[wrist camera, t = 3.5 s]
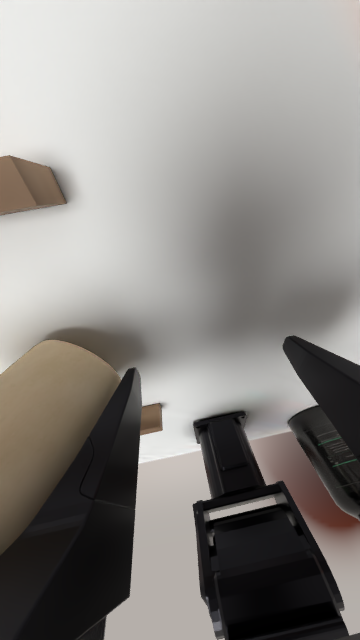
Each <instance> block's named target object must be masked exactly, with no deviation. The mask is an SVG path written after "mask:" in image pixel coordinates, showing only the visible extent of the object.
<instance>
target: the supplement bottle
mask: <svg viewBox="0 0 360 640" xmlns="http://www.w3.org/2000/svg"><path fill="white" fill-rule="evenodd" d="M289 427H290V429H291V431H292V432H293V434H294V435H295V437H296V439H297V441H298V442H299V444H300V445H301V447H302V449H303V451H304V452H305V454H306V456H307V457H308V459H309V460H310V462H311V464H312V466H313V467H314V469H315V470H316V472H317V474H318V475H319V477H320V479H321V480H322V482H323V484H324V485H325V487H326V489H327V490H328V492H329V494H330V495H331V497H332V498H333V500H334V502H335V503H336V504H337V505H338V506H339V508H341V509H342V510H343V511H344V512H346V513H348V514H349V515H351V516H354V517H356V518H358V519H359V520H360V464H359V462H358V461H357V459H356V457H355V456H354V455H353V453H352V452H351V450H350V449H349V448H348V446H347V445H346V443H345V442H344V440H343V439H342V438H341V436H340V435H339V433H338V432H337V430H336V429H335V428H334V426H333V425H332V423H331V422H330V420H329V419H328V418H327V416H326V415H325V413H324V412H323V410H322V409H321V408H320V406H316V407H312V408H309V409H307V410H304V411H302V412H300V413H298V414H297V415H295V416H294V417H292V418H291V419H290V421H289Z"/></svg>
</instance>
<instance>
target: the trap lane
mask: <svg viewBox="0 0 360 640" xmlns="http://www.w3.org/2000/svg"><path fill="white" fill-rule="evenodd" d="M61 204H67V203H66V201H65V199H64V197H63V195H62V192H61V190H60V188H59V186H58V184H57V182H56V179H55V177H54V175H53V173H52V171H51V169H50V167H47V166H43V165H40V164H37V163H33V162H30V161H27V160H23V159H20V158H16V157H13V156H10V155H9V156H3V157H0V215H5V214H10V213H16V212H22V211H27V210H33V209H39V208H44V207H50V206H55V205H61ZM162 430H163V429H162V410H161V406H160V404H154V405H150V406H145V407H142V412H141V427H140V435H144V434H149V433H153V432H158V431H162Z"/></svg>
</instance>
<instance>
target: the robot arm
mask: <svg viewBox="0 0 360 640" xmlns="http://www.w3.org/2000/svg"><path fill="white" fill-rule="evenodd" d="M283 350H284V352H285V354H286V356H287V357H288V359H289V361H290V363H291V365H292V366H293V368H294V370H295V371H296V373H297V375H298V376H299V378H300V379H301V380H302V382H303V383H304V385H305V386H306V388H307V389H308V390H309V392H310V393H311V395H312V396H313V398H314V399H315V400H316V402H317V403H318V405H319V406H320V408H321V409H322V410H323V412H324V413H325V415H326V416H327V418H328V419H329V420H330V422H331V423H332V425H333V426H334V428H335V429H336V430H337V432H338V433H339V435H340V436H341V438H342V439H343V440H344V442H345V443H346V445H347V446H348V448H349V449H350V450H351V452H352V453H353V455H354V456H355V457H356V459H357V461H358V462H359V464H360V365H357V364H355V363H353V362H351V361H349V360H347V359H345V358H342V357H340V356H338V355H336V354H334V353H332V352H329V351H327V350H325V349H323V348H321V347H319V346H316V345H314V344H312V343H310V342H308V341H306V340H303V339H301V338H299V337H297V336H294V335H293V336H288V337H286V339H285V341H284V344H283ZM141 412H142V398H141V378H140V375H139V373H138V371H137V369H136V368H135V367H134V368H129V369H128V370H127V372H126V373H125V375H124V377H123V378H122V380H121V382H120V383H119V385H118V387H117V389H116V390H115V392H114V394H113V395H112V397H111V399H110V400H109V402H108V404H107V405H106V407H105V409H104V411H103V412H102V414H101V416H100V417H99V419H98V421H97V422H96V424H95V426H94V428H93V429H92V431H91V433H90V434H89V436H88V438H87V439H86V441H85V443H84V444H83V446H82V448H81V449H80V451H79V452H78V454H77V456H76V457H75V459H74V460H73V462H72V463H71V465H70V466H69V468H68V469H67V471H66V472H65V474H64V475H63V477H62V478H61V480H60V481H59V483H58V484H57V486H56V487H55V488H54V490H53V491H52V493H51V494H50V496H49V497H48V499H47V500H46V502H45V503H44V504H43V506H42V507H41V509H40V510H39V512H38V513H37V514H36V516H35V517H34V519H33V520H32V521H31V523H30V524H29V525H28V526H27V528H26V529H25V530H24V531H23V532H22V533H21V535H20V536H19V537H18V538H17V539H16V540H15V541H14V542H13V543H12V544H11V545H10V546H9V547H8V548H7V549H6V550H5V551H4V552H3V553H2V554H1V555H0V640H104V636H105V626H106V617H107V615H108V614H109V613H110V612H111V611H113V609H115V608H116V607H117V606H119V605H120V604H121V603H122V602H123V601H125V600H126V599H127V598H129V596H130V583H131V568H132V553H133V537H134V521H135V505H136V489H137V474H138V459H139V443H140V427H141ZM246 419H247V415H246V413H245V412H240V413H236V414H231V415H227V416H222V417H217V418H213V419H208V420H204V421H199V422H195V423H194V424H193V426H194V431H195V435H196V440H197V443H198V444H201V449H202V454H203V459H204V463H205V469H206V473H207V479H208V483H209V488H210V494H211V498H212V499H210V500H206V501H202V500H200V501H197V503H195V504H193V511H194V518H195V526H196V537H197V551H198V566H199V580H200V592H201V597H202V599H203V600H204V602H205V603H206V605H207V606H208V609H209V614H210V617H211V619H212V623H213V628H214V632H215V636H216V638H217V640H218V639H222V638H225V640H360V633H358V634H354V635H350V636H349V634H348V631H347V628H346V625H345V623H344V621H343V619H342V616H341V614H340V611H343V610H344V604H343V600H342V597H341V594H340V591H339V589H338V587H337V584H336V581H335V579H334V577H333V575H332V572H331V570H330V568H329V566H328V564H327V562H326V560H325V558H324V556H323V554H322V552H321V550H320V548H319V547H318V545H317V543H316V541H315V539H314V537H313V535H312V534H311V532H310V530H309V528H308V527H307V525H306V522H305V521H304V519H303V517H302V515H301V513H300V511H299V510H298V508H297V506H296V504H295V502H294V500H293V498H292V496H291V495H290V493H289V491H288V489H287V487H286V486H285V484H284V482H283V481H278V482H276V483H275V484H272V485H268V486H266V484H265V481H264V479H263V477H262V474H261V471H260V469H259V466H258V464H257V461H256V459H255V457H254V454H253V452H252V449H251V446H250V444H249V441H248V439H247V436H246V434H245V431H244V426H245V423H246ZM273 497H274V498H275V500H276V503H277V504H276V505H272V506H267V507H263V508H259V509H255V510H251V511H247V512H243V513H238V514H234V515H230V516H226V517H222V518H218V519H214V520H210V517H209V513H211V512H215V511H220V510H224V509H228V508H232V507H236V506H240V505H244V504H248V503H253V502H256V501H260V500H265V499H269V498H273Z"/></svg>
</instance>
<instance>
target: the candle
mask: <svg viewBox="0 0 360 640" xmlns="http://www.w3.org/2000/svg"><path fill="white" fill-rule="evenodd" d="M120 382H121V379H120V377H119V375H118V374H117V372H116V371H115V370H114V369H113V368H112V367H111V366H110V365H109V364H108V363H107V362H105V361H104V360H103V359H101V358H100V357H98V356H97V355H95V354H93V353H92V352H90V351H88V350H86V349H84V348H82V347H79V346H77V345H74V344H71V343H68V342H64V341H59V340H45V341H42V342H40V343H39V344H37V345H35V346H34V347H33V348H32V349H30V350H29V351H28V352H27V353H26V354H24V355H23V356H22V357H21V358H19V359H18V360H17V361H16V362H15V363H13V364H12V365H11V366H10V367H9V368H8V369H6V370H5V371H4V372H3V373H2V374H0V555H1V554H2V553H3V552H4V551H5V550H6V549H7V548H8V547H9V546H10V545H11V544H12V543H13V542H14V541H15V540H16V539H17V538H18V537H19V536H20V535H21V533H22V532H23V531H24V530H25V529H26V528H27V526H28V525H29V524H30V523H31V521H32V520H33V519H34V517H35V516H36V514H37V513H38V512H39V510H40V509H41V507H42V506H43V504H44V503H45V502H46V500H47V499H48V497H49V496H50V494H51V493H52V491H53V490H54V488H55V487H56V486H57V484H58V483H59V481H60V480H61V478H62V477H63V475H64V474H65V472H66V471H67V469H68V468H69V466H70V465H71V463H72V462H73V460H74V459H75V457H76V456H77V454H78V452H79V451H80V449H81V448H82V446H83V444H84V443H85V441H86V439H87V438H88V436H89V434H90V433H91V431H92V429H93V428H94V426H95V424H96V422H97V421H98V419H99V417H100V416H101V414H102V412H103V411H104V409H105V407H106V405H107V404H108V402H109V400H110V399H111V397H112V395H113V394H114V392H115V390H116V389H117V387H118V385H119V383H120Z"/></svg>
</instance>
